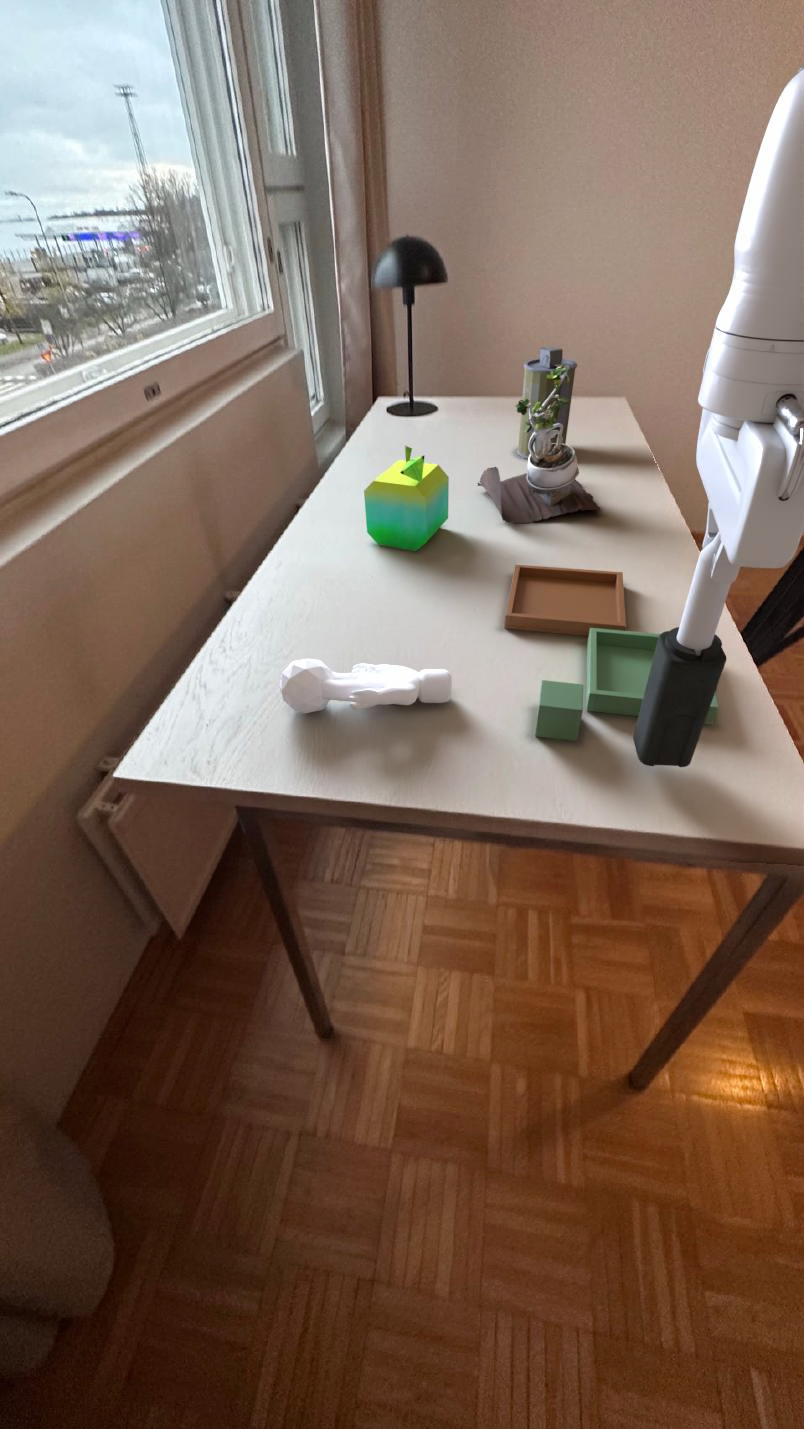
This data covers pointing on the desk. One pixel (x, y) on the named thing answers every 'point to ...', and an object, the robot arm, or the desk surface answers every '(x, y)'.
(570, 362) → the canister
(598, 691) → the green tray
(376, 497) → the low-poly cube fruit
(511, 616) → the wood tray
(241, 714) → the desk surface
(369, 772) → the desk surface
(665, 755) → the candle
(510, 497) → the potted plant
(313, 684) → the figure
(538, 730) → the green block
